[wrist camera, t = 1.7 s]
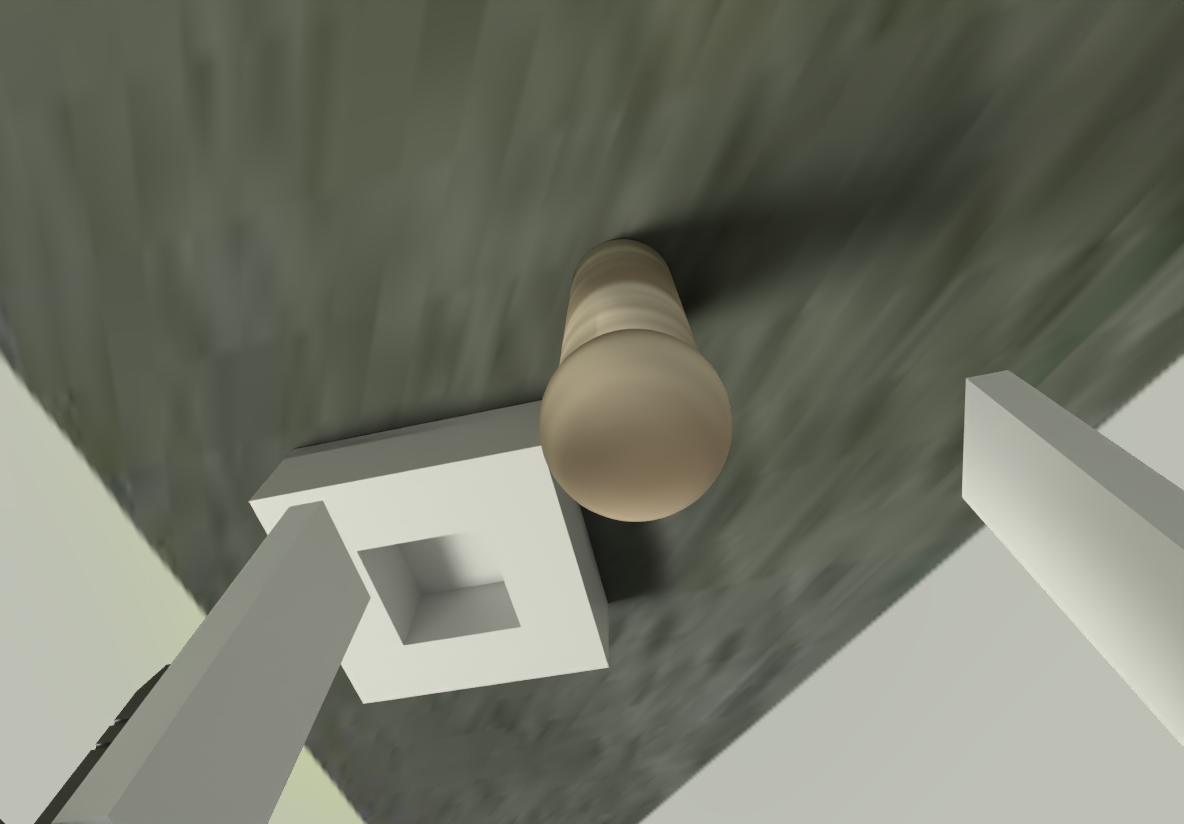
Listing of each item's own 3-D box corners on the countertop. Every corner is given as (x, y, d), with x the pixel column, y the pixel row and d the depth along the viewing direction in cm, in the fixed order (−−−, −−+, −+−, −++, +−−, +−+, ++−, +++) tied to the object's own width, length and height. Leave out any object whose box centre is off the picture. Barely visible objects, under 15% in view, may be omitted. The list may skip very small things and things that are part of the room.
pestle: (551, 245, 25) (502, 401, 13) (669, 219, 24) (736, 355, 12) (579, 354, 27) (559, 578, 15) (688, 331, 26) (761, 544, 14)
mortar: (292, 449, 29) (248, 501, 25) (549, 398, 28) (541, 445, 24) (388, 639, 34) (363, 703, 31) (608, 604, 33) (608, 667, 29)
